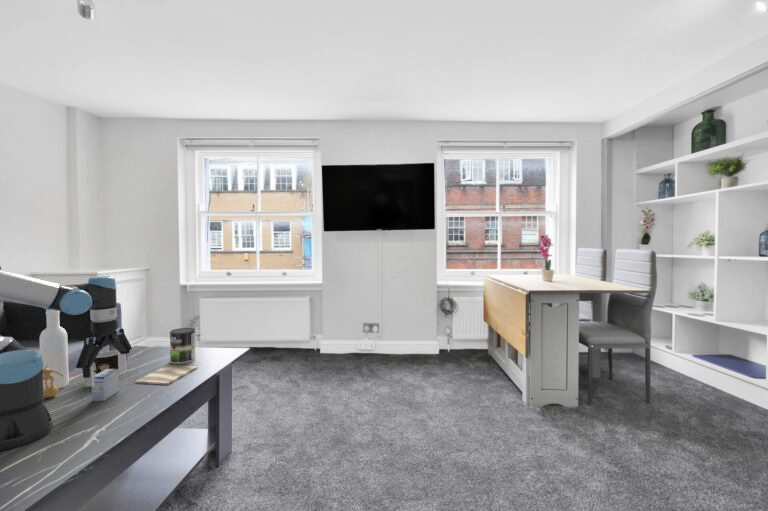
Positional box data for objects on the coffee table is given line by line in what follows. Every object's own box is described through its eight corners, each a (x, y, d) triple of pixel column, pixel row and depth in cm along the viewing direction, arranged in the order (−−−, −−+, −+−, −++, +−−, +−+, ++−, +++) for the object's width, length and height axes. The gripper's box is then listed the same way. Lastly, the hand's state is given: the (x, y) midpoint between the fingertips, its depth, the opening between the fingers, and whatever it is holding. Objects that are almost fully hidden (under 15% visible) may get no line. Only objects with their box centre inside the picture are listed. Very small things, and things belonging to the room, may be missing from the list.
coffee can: (182, 365, 161) (182, 334, 160) (164, 362, 164) (164, 332, 163) (200, 357, 171) (200, 328, 170) (183, 355, 174) (183, 326, 173)
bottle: (64, 381, 142) (62, 305, 141) (72, 385, 138) (70, 308, 136) (37, 388, 135) (34, 309, 134) (44, 392, 131) (42, 311, 130)
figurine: (68, 393, 131) (67, 360, 130) (60, 400, 125) (59, 366, 125) (39, 396, 128) (37, 363, 127) (29, 403, 122) (28, 369, 122)
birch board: (168, 384, 139) (168, 382, 139) (135, 383, 141) (135, 381, 141) (197, 368, 157) (197, 366, 157) (167, 366, 158) (167, 365, 158)
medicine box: (106, 391, 132) (106, 368, 132) (119, 391, 133) (119, 368, 132) (91, 401, 125) (90, 376, 124) (105, 401, 125) (104, 376, 125)
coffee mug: (126, 374, 149) (126, 351, 148) (108, 383, 140) (108, 357, 140) (100, 373, 150) (100, 349, 150) (81, 381, 141) (80, 356, 141)
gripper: (80, 329, 115) (84, 393, 116) (141, 312, 140) (143, 365, 141) (59, 328, 116) (63, 392, 117) (123, 311, 140) (125, 365, 142)
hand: (107, 378), depth 129 cm, fingers open, 13 cm apart
